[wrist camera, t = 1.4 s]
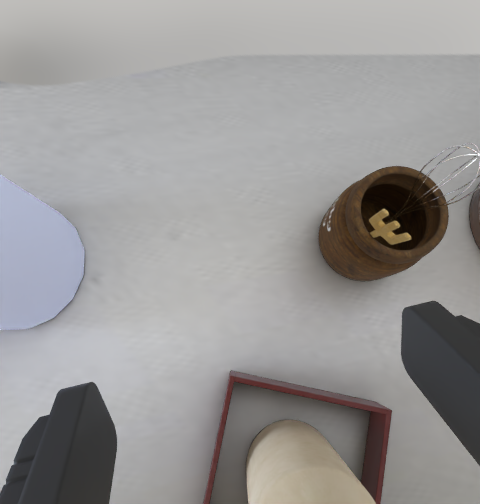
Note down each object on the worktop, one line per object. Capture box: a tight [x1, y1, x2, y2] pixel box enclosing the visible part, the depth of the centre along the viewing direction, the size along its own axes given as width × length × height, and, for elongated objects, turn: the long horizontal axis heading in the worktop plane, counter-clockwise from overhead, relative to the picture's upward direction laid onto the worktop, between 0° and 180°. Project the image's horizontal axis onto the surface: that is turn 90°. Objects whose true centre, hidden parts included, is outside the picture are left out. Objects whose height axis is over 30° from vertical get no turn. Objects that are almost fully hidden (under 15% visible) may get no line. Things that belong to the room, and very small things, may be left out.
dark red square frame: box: [203, 371, 392, 504], centre depth 23 cm, size 10×10×2 cm
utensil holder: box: [319, 143, 480, 281], centre depth 21 cm, size 6×6×12 cm
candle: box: [246, 420, 376, 504], centre depth 19 cm, size 6×6×10 cm
